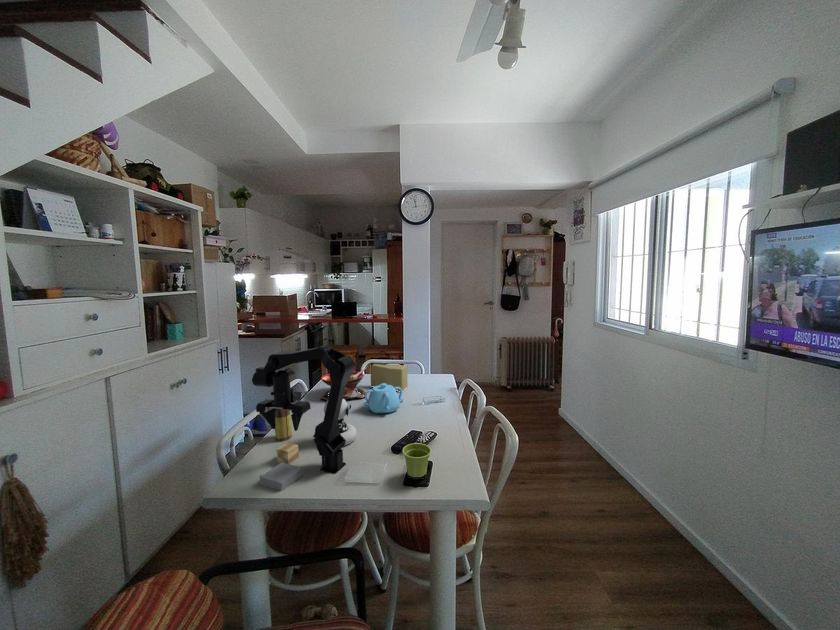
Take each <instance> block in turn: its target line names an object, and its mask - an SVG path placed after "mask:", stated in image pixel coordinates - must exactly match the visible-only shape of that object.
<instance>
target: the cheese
mask: <svg viewBox="0 0 840 630" xmlns="http://www.w3.org/2000/svg"><path fill="white" fill-rule="evenodd" d="M382 383H386V384H387V385H392V386H393V387H394V388H395V387H400V388H401V389H402V391H403V390H404V389H405V388H406V387H407V388H408V365H404V364H403V365H401V364H400V365H399V364H379V363H378V364H377V363H374V364H372V365H371V368H370V387H371V386H379V385H380V384H382ZM395 390H398V391H400V390H399V389H395Z"/></svg>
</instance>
